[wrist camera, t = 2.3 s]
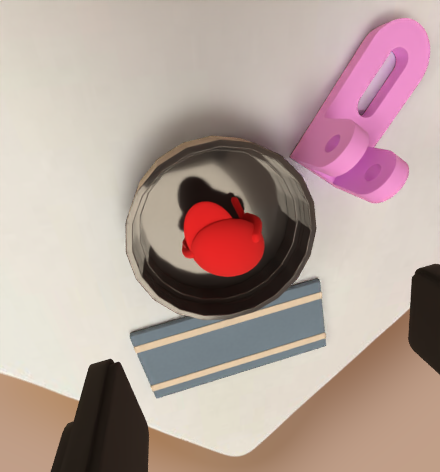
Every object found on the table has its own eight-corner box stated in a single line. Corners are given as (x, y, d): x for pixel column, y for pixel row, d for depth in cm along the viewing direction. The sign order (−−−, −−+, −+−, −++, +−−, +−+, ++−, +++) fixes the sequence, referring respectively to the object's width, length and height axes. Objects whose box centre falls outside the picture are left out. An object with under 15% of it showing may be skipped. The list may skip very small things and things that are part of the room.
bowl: (284, 116, 25) (306, 117, 21) (302, 270, 31) (322, 292, 27) (104, 161, 24) (94, 170, 20) (159, 311, 30) (159, 340, 26)
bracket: (335, 187, 28) (385, 209, 22) (289, 157, 27) (330, 171, 20) (429, 51, 25) (518, 31, 19) (384, 6, 23) (467, -33, 17)
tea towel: (317, 278, 32) (320, 281, 31) (323, 342, 36) (326, 346, 35) (130, 332, 30) (129, 337, 30) (156, 394, 34) (156, 399, 33)
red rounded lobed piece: (270, 221, 28) (297, 247, 23) (231, 270, 29) (248, 306, 24) (200, 170, 25) (211, 187, 20) (160, 227, 26) (160, 257, 21)
